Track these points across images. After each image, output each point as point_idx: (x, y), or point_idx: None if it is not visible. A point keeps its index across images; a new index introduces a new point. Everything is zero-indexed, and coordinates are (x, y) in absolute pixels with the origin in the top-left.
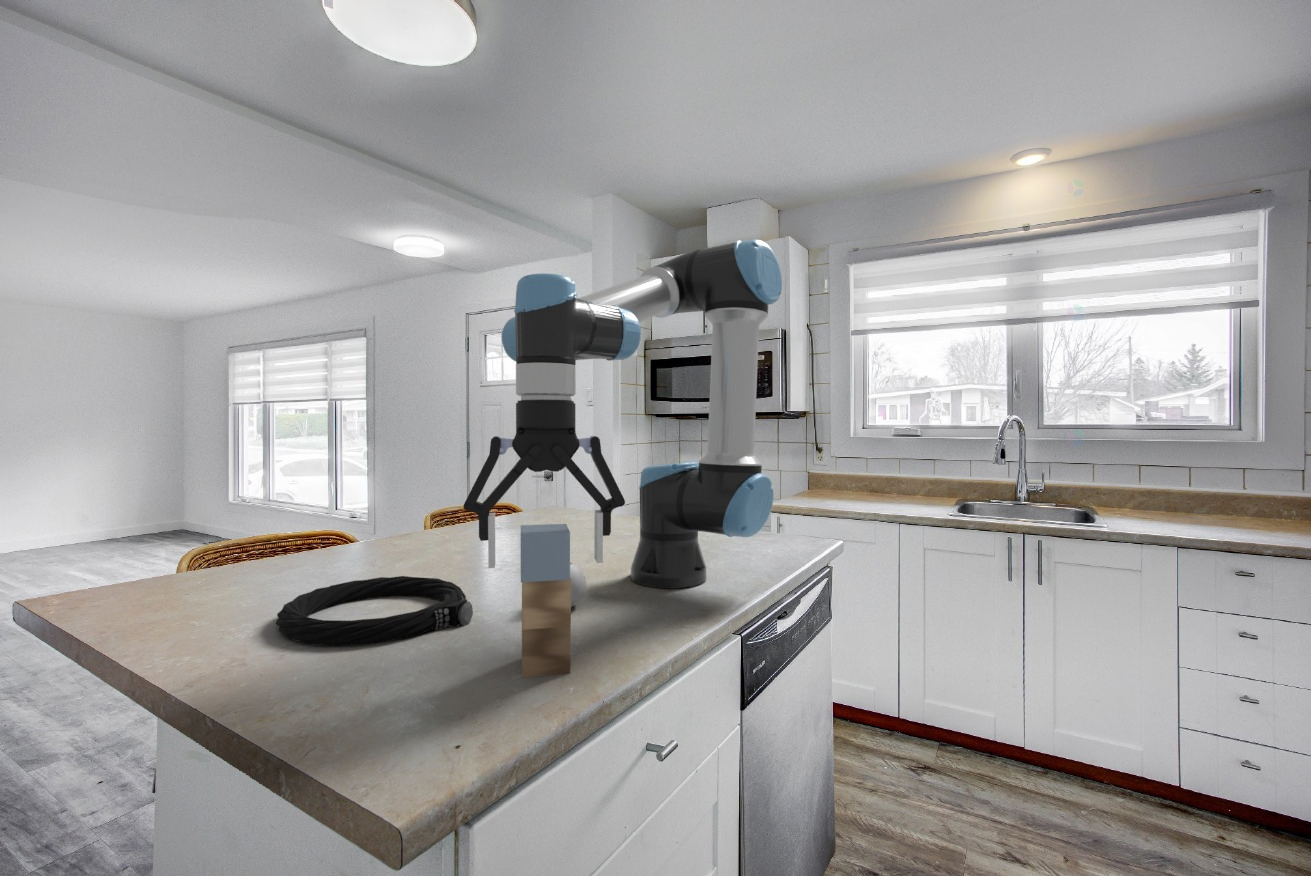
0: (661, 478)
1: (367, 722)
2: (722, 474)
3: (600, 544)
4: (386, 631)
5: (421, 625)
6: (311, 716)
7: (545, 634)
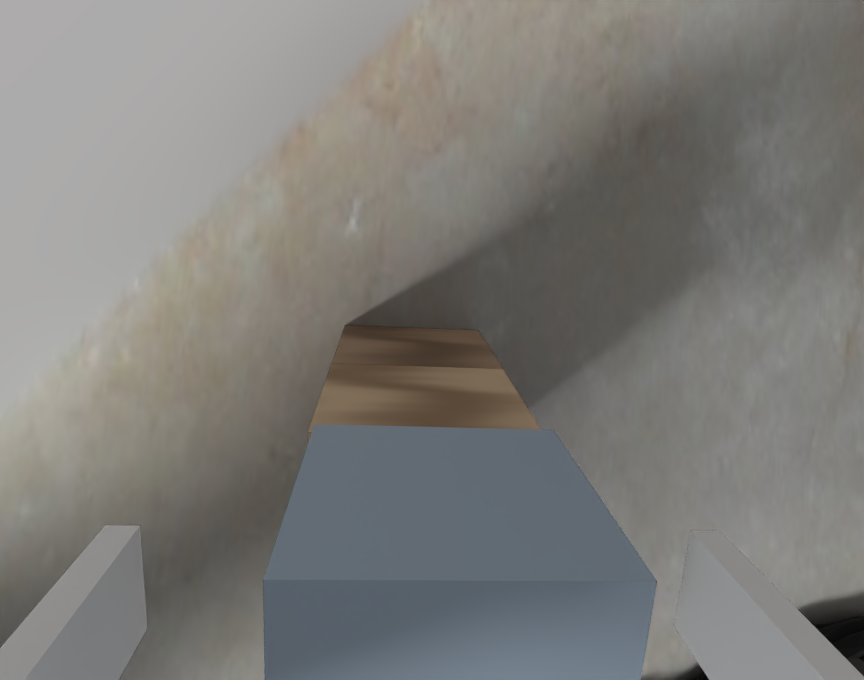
0: None
1: (851, 168)
2: None
3: (61, 597)
4: None
5: None
6: None
7: (421, 358)
